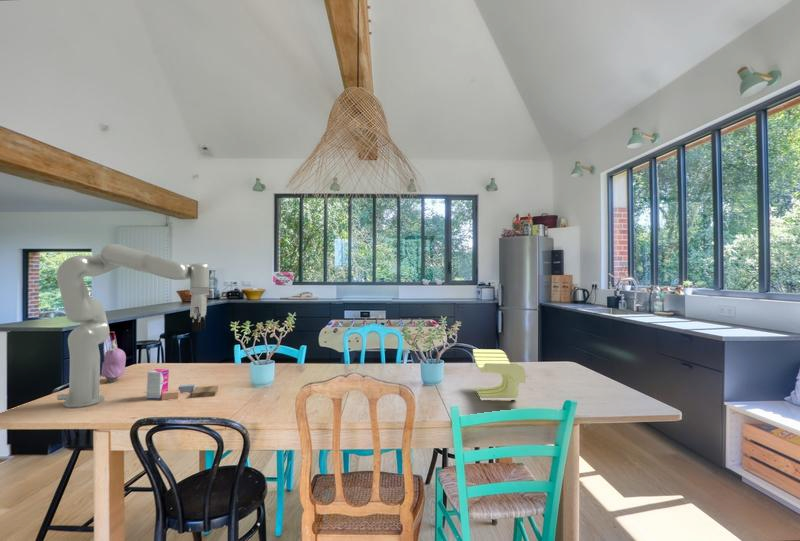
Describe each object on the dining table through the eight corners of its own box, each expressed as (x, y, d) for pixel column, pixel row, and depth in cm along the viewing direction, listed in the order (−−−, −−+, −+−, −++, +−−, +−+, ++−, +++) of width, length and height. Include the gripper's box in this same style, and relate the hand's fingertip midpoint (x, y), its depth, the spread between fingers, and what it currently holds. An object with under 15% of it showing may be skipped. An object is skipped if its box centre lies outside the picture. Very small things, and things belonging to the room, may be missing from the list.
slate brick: (178, 393, 167) (178, 386, 167) (180, 391, 170) (180, 384, 170) (193, 392, 168) (193, 385, 169) (194, 390, 171) (195, 383, 171)
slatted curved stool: (525, 408, 150) (525, 363, 150) (485, 407, 150) (485, 363, 151) (506, 386, 180) (506, 349, 180) (472, 386, 180) (472, 349, 181)
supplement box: (159, 399, 158) (160, 372, 158) (145, 399, 158) (146, 372, 158) (168, 395, 164) (169, 368, 164) (155, 395, 164) (155, 368, 164)
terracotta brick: (161, 400, 157) (162, 393, 157) (164, 398, 160) (164, 391, 160) (178, 399, 159) (178, 392, 159) (180, 397, 162) (180, 390, 162)
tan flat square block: (191, 399, 160) (191, 393, 160) (196, 392, 169) (196, 387, 169) (214, 397, 163) (214, 391, 163) (217, 391, 171) (218, 385, 172)
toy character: (103, 379, 189) (104, 339, 189) (128, 376, 193) (128, 338, 194) (95, 385, 178) (96, 343, 178) (122, 382, 182) (123, 341, 182)
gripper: (194, 290, 174) (193, 327, 173) (185, 292, 157) (184, 333, 157) (212, 290, 176) (211, 327, 175) (205, 292, 159) (204, 332, 159)
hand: (198, 330), depth 166 cm, fingers open, 9 cm apart
